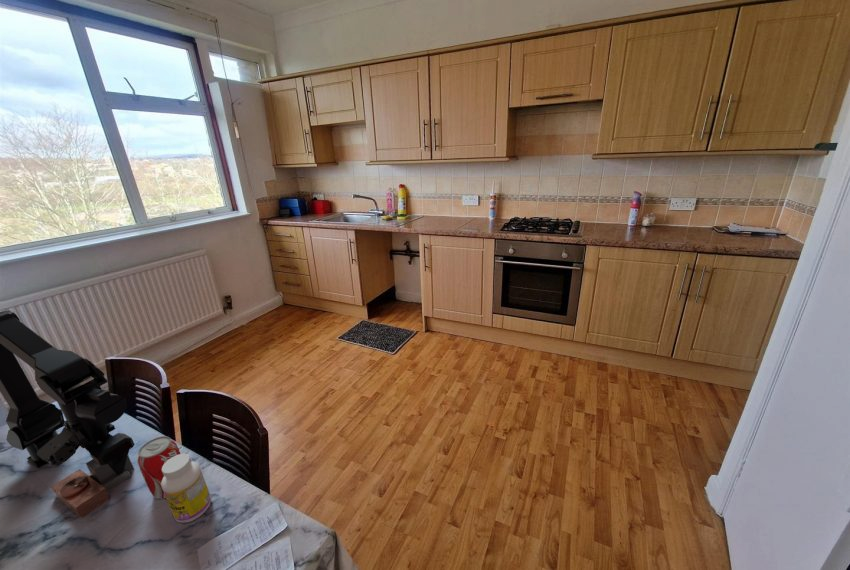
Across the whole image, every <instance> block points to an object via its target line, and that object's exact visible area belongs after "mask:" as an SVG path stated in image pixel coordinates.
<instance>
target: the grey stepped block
mask: <svg viewBox="0 0 850 570" xmlns="http://www.w3.org/2000/svg"><path fill="white" fill-rule="evenodd" d="M85 465H86V467H87V469H88V471H89V473H91V475H92V477H93V479H94V480H95V481H96V482H97V483H99V484H100V485H102V484H103V483H105V482H106V481H108V480H109V479H111V478H112V477H114V476H115V475H117V474H116V473H115V472H114V471H113V470H112V469H111V468H110V466H109V465H108V464H105V465H101V466H100V465H99V464H97V463H96V462H94V460H93V458H91V460H89V461H88V462H86V463H85ZM124 469H127V470H128V472H129V473H131V472H132V471H134V470H135V467H134V466H133V463H132V460H131V458H130V456H129V455H128V456H127V459H126V464H125V468H124Z"/></svg>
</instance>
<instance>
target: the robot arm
mask: <svg viewBox="0 0 850 570" xmlns="http://www.w3.org/2000/svg"><path fill="white" fill-rule="evenodd" d="M17 358H19V359H20V360H21V361H23V362H24V363H25V364H26V365H28V366H29V367H30V368H32V369H33V370H34V378H35V379H34V381H35V382H36V384H37V386H38V388H39V389H40V390H41V391H42V392H43V393H45V394H46V395H48V396H49V397H50V398H52V399H53V400H54V401H55V402H57V404H58V406H59V408H58V407H57V406H56V405H55V404H54V403H52V402H49V401H45V400H42V399H40V398H39V396H38V394H37V392H36V390H35V389H34V387H33V385H32V383H31V382H30V380H29V379H28V377H27V374H26V373H25V371H24V369H23V368H22V366H21V364H20V362H19V361H18V359H17ZM105 374H106V373H104V372H103V371H102V370H101V369H100V368H99V367H97V366H96V365H95V364H94V363H93V362H92V361H91V360H89V359H88V358H86V357H83V356H81V355H79V354H78V353H75V352H74V351H72V350H64V349H58V348H56V347H55V346H54V345H52V344H51V343H49V342H48V341H47V340H45V339H44V338H43V337H42V336H40V335H39V334H38V333H36V332H35V331H34V330H32V329H31V328H30V327H29V326H27V325H25V324H24V323H23V322H21V319H20V317H18V315H17V314H16V313H15V312H13V311H11V310H10V309H7V310H3V311H0V394H1V395H2V397H3V398H4V401H6V403H7V405H8V407H9V411H8V413H7V416H6V420H5V423H6V424H7V426H8V431H7V435H6V438H5V439H6V442H7V443H8V444H9V445H10V447H12V448H14V449H18V450H21V451H24V450H25V449H26V451H27V453H28V455H29V456H28V457H27V458H26V460H27V461H28V462H29V463H30V464H31V465H33V466H34V467H35V468H37V469H39V468H40V467H42V466H44V465H46V464H51V465H52V466H54V467H59V466H61V465H62V464H64V463H66V462H67V461H68V460H69V459H70V458H71V457H73V456H74V455H75V454H76V452H77V450H78V449H79V448H81V449H85V450H86V451H87V452H88V453H89V455H90V457H91V459H93V460H94V462H96V463H97V464H99V465H100V466H101V465H105V464H108V465H109V466H110V468H111V469H112V470H113V471H114V472H115V473H116V474H117V475H119V474H121V473H123V471H124V468H125V464H126V459H127V456H129V452H130V450H131V449H133V448H134V446H135V442H134V441H133V437H131V436H130V435H127V434H126V433H123V432H121V433H119V432H117V433H116V434H114V435H112V434H110V433H111V432H113V431H115V430H116V427H115V425H114V424H112V423H114V422H116V421H118V420H119V419H120V418H122V416H123V415H124V414H125V413H126V410H127V407H128V403H127V402H128V401H127V399H126V398H125V397H124V396H122V395H120V394H119V395H118V394H116V393H111V392H110V390H106V389H102V387H101V386H103V385H105V384H107V383H108V379H107V378H106V377H105ZM91 378H93V379H91ZM89 379H90V380H89ZM87 380H89V381H87ZM86 381H87V382H86ZM84 382H85V383H84ZM81 383H83V384H81ZM61 428H63V429H62V430H61V431H60V432H59V433H58V430H59V429H61Z"/></svg>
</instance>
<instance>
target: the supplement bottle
mask: <svg viewBox="0 0 850 570" xmlns="http://www.w3.org/2000/svg"><path fill="white" fill-rule="evenodd" d="M162 472H163V475H164V477H163V479H162V482H161V487H162V490H163V492H164V494H165V497H166V498H165V499H166V501H167V503H168V505H169V508H170V510H171V511H170V512H171V513H172V515H173V518H174V520H175V521H176V522H178V523H182V524H183V523H184V524H185V523H190V522H192V521H194V520H196V519H198V518H200V517H201V516H202V515H204V513H205V512H206V511H207V510H208V509H209V507H210V505H211V502H212V497H211V493H210V491H209V488H208V485H207V483H206V480H205V478H204V474H203V472H202V469H201V467H200V465H199V463H197V462H195V461H193V460H192V459H191V457H190V455H189V454H187V453H181V454H179V455H176V456H174V457H172V458H170V459H169V460H168V461H166V462H165V464H164V465H163V467H162Z"/></svg>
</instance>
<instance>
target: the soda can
mask: <svg viewBox="0 0 850 570" xmlns="http://www.w3.org/2000/svg"><path fill="white" fill-rule="evenodd" d="M179 454H182V453H181V451H180V449H179V447H178V444H177V443H176V442H175V441H174V440H173V439H171V437H169V436H165V435H164V436H158V437H155V438H153V439H150V440H148V441H147V442H146V443H144V444H142V446H141V447H140V448H139V450H138V452H137V455H138V457H137V465H138V468H139V470H140V473H141V475H142V477H143V479H144V481H145V484H146V486H147V489H148V490H149V492H150V493H151V495H152V497H153V498H155V499H160V500H161V499H166V497H165V494H164V492H163V490H162V487H161V482H162V479H163V477H164V475H163V472H162V467H163V465H164V464H165V462H166V461H168V460H169V459H170V458H172V457H174V456H176V455H179Z"/></svg>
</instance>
